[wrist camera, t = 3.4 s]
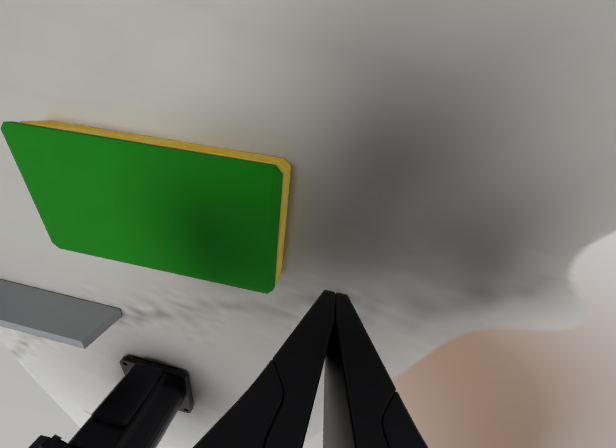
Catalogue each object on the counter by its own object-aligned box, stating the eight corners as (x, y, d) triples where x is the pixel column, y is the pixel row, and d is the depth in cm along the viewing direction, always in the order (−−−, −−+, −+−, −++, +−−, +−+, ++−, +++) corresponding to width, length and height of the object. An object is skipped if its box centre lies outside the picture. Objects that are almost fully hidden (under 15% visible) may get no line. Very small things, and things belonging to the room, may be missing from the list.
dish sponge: (283, 269, 15) (271, 296, 13) (92, 229, 16) (51, 248, 14) (293, 157, 12) (280, 168, 9) (53, 119, 13) (-7, 120, 11)
